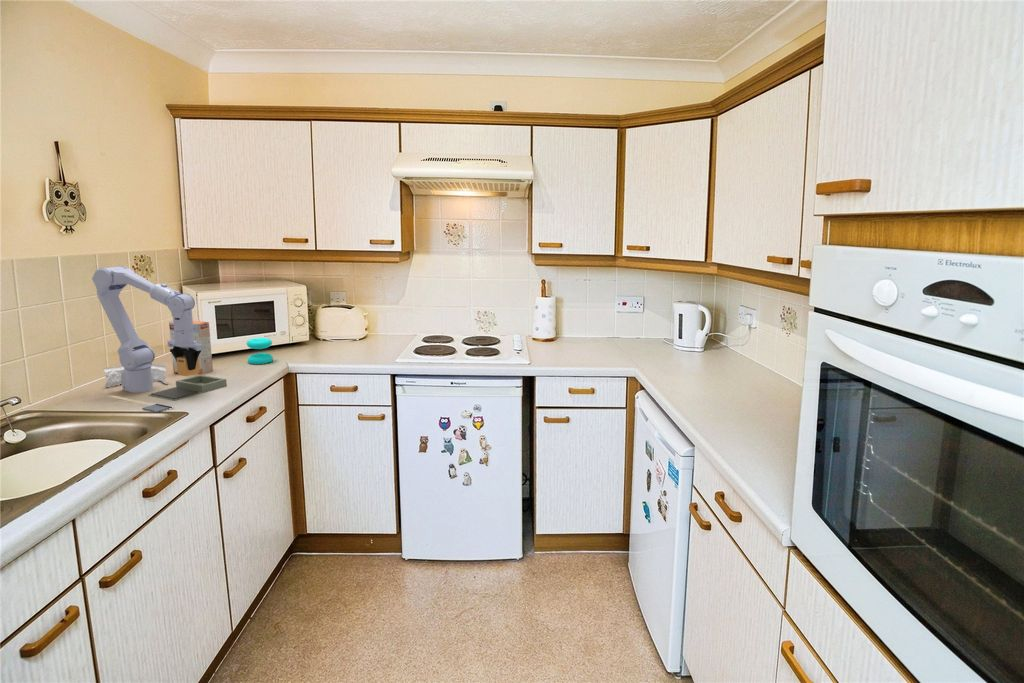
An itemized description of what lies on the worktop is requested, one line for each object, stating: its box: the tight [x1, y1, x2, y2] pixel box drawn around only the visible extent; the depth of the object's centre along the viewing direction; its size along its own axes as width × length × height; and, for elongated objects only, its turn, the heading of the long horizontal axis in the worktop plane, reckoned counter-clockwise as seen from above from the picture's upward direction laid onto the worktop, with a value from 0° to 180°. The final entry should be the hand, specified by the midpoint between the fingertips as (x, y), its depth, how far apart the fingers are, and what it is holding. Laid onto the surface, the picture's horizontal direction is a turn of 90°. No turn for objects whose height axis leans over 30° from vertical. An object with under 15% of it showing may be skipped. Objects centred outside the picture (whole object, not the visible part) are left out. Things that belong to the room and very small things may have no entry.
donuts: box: [246, 337, 274, 365], centre depth 246 cm, size 10×10×10 cm
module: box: [177, 355, 199, 377], centre depth 197 cm, size 4×5×7 cm
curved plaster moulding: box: [103, 363, 168, 389], centre depth 207 cm, size 11×20×8 cm, turn 119°
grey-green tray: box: [148, 374, 228, 402], centre depth 201 cm, size 13×20×4 cm, turn 157°
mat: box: [141, 403, 173, 413], centre depth 185 cm, size 7×8×1 cm
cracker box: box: [168, 320, 214, 375], centre depth 225 cm, size 14×6×21 cm, turn 74°
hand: (187, 368), depth 197 cm, fingers closed on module, 4 cm apart
